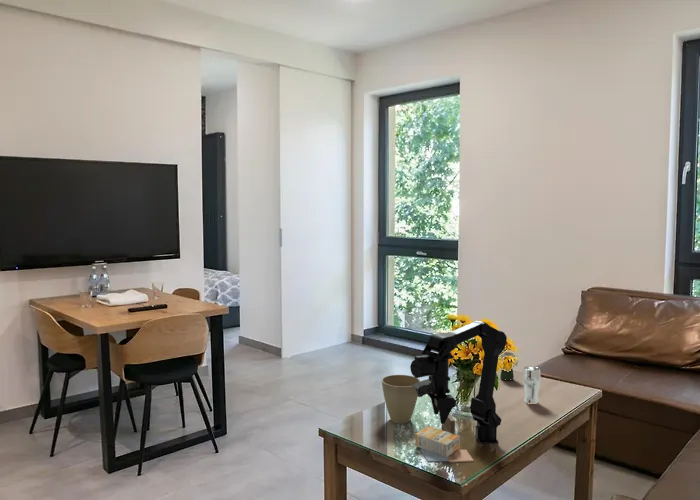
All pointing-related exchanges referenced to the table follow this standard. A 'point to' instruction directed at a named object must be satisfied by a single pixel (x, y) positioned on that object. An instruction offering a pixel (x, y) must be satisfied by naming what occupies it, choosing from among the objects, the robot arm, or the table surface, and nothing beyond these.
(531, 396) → the beer glass
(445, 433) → the supplement box
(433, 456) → the slate-blue mat
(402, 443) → the table surface
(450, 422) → the walnut screen
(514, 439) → the table surface
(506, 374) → the character mug
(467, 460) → the terracotta mat
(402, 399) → the plant pot
